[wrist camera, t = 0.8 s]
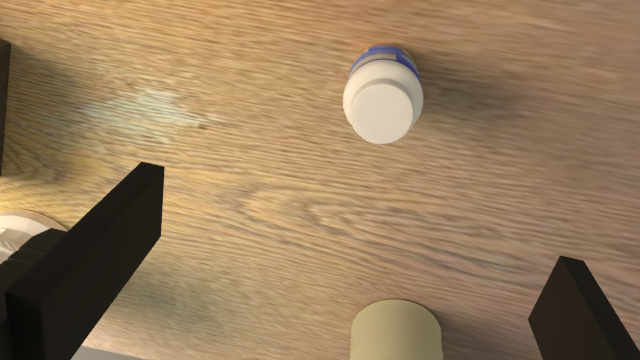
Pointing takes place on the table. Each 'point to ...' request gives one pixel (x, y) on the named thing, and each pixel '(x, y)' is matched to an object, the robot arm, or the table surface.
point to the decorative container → (21, 229)
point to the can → (395, 332)
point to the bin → (3, 88)
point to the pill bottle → (383, 93)
